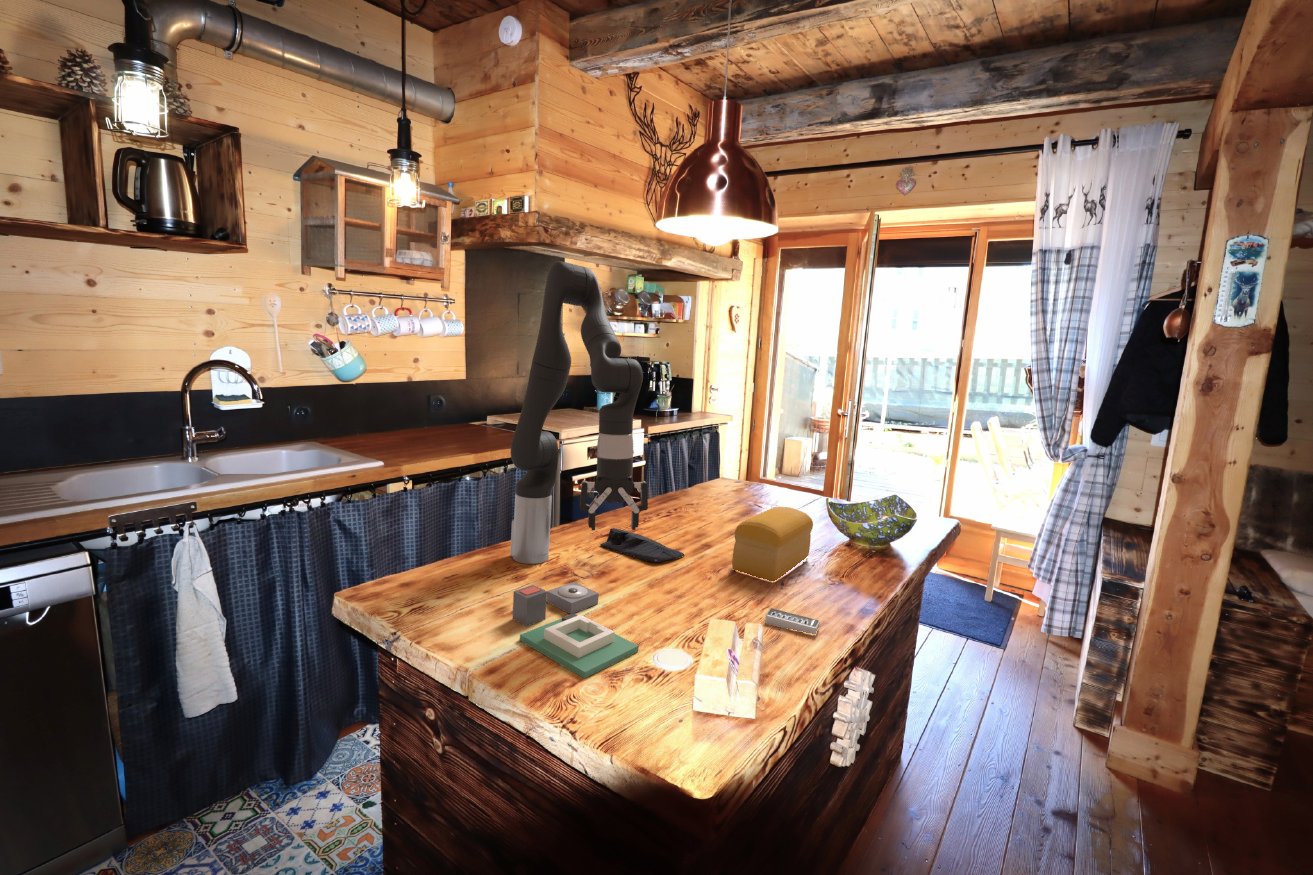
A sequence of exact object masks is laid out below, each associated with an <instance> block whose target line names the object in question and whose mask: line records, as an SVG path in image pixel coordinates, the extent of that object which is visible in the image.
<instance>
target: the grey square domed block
mask: <svg viewBox="0 0 1313 875" xmlns="http://www.w3.org/2000/svg"><path fill="white" fill-rule="evenodd" d="M599 594H600V593H599V592H597V591H595V590H592V589H591V588H588V587H586V586H584V585H581V584H579V583H577V582H575V581H573V582H569V583H567V584H564V585H562V586H558V587H555V588H553V589H549V590H547V597H546V603H548V604H550V605H551V606H554V607H556V608H558V609H560V610H561V611H564V612H566V613H568V614H569V615H570V614H573V613H574V614H576V613H578V612H580V611H583V610H586V609H588V608H590V607H594V606H596V605H598V604H599Z"/></svg>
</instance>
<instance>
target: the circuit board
mask: <svg viewBox="0 0 1313 875" xmlns="http://www.w3.org/2000/svg"><path fill="white" fill-rule="evenodd" d="M519 641H520V642H522V643H524V644H525V645H526V646H529V647H530V648H532V649H534V650H535V651H537V652H539V653H541V654H542V655H544V656H546V657H547V658H549V659H551V660H552V661H554V662H555V663H557V664H558V665H561V666H562V667H564V668H565V669H568V670H570V671H571V672H573V673H574V674H576V675H578V676H579V677H581V678H583V679H587V678H588V677H590V676H593V675H595V674H597V673H598V672H600V671H602V670H604V669H607V668H608V667H610V666H612V665H614V664H616V663H618V662H620V661H623V660H624V659H626V658H628V657H630V656H632V655H634V654H636V653H638V652H639V646H640V645H638V644H636V643H634V642H632V641H630V640H628V639H626V638H624V637H622V636H621V635H618V634H616V633H615V630H614V631H613V630H612V629H610V628H609V627H606V626H603V625H602V624H600V623H598V622H596V621H593V619H589V618H588V617H585V616H583V615H582V614H576V613H573V614H570V613H569V614H567V615H565V616H562V617H561V618H559V619H557V620H553V621H551V622H549V623H545V624H544V625H541V626H538V627H535V628H534V629H530V630H528V631H526V632H523V633H520V634H519Z"/></svg>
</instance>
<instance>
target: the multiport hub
mask: <svg viewBox="0 0 1313 875" xmlns="http://www.w3.org/2000/svg"><path fill="white" fill-rule="evenodd" d="M764 623H765V624H766V625H769V626H774V627H776V626H778V628H780V627H781V629H784V628H788V629H793V630H797V631H803V632H806V633H812V634H816V631H817V629H818V628H819V629H820V624H821V621H820V620H818V619H815V618H811V617H807V616H804V615H800V614H796V613H791V612H788V611H785V610H780V609H776V608H772V607H771V608H769V610H768V611H767V612H766V614H765V620H764ZM788 629H787V630H788ZM816 635H817V634H816Z"/></svg>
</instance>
